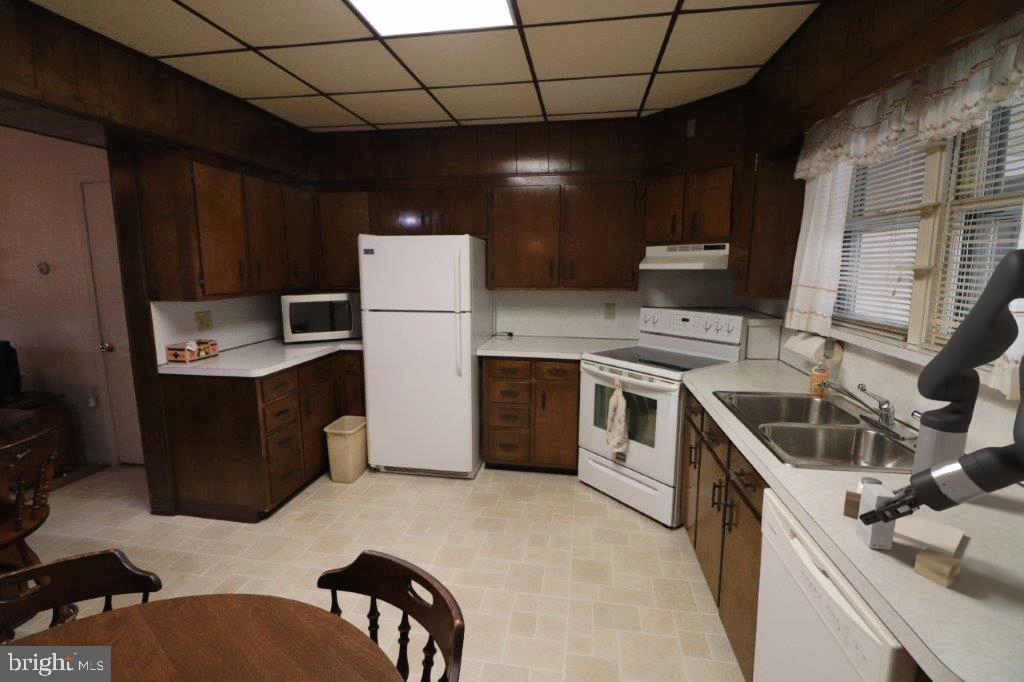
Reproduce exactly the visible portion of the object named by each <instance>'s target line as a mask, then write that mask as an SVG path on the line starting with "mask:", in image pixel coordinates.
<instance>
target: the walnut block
mask: <svg viewBox="0 0 1024 682" xmlns="http://www.w3.org/2000/svg"><path fill="white" fill-rule="evenodd" d="M860 501H861V494H859V493H857V492H854V491H850V490H846V491H845V499H844V505H843V516H845V517H848V518H853V519H857V520H858V515H859V508H860Z"/></svg>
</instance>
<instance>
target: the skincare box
mask: <svg viewBox="0 0 1024 682" xmlns="http://www.w3.org/2000/svg"><path fill="white" fill-rule="evenodd" d="M894 496H896V495H895V494H894V493H893V491H892V490H890V489H889V488H888V487H886V485H885V484H882V485H878V484H867V483H863V488H862V494H861V501H860V508H859V515H858V519H857V522H856V524H857V525H856V528H855V529H856V530H855V533H856V534H857V535H858V537H860V539H861V540H862V541H863V542H864V543H865V544H866V546H868V548H869V549H877V550H887V551H891V550H892V547H893V542H894V536H893V535H894V529H895V523H896V519H895V520H893V521H890V522H888V523H884V522H883V521H879V522H876V523H873V524H870V525H865V524H864V523H863V522H862V521H861V519H860V518H859V516H860V515H861V514H863V513H866V512H869V511H871V510H874V509H876V508H877V507H880V506H882V505H884V502H885V501H886V500H888V499H890V498H892V497H894ZM892 504H893V502H892ZM884 512H885V513H886V515H889V514H890V512H889V511H884Z"/></svg>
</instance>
